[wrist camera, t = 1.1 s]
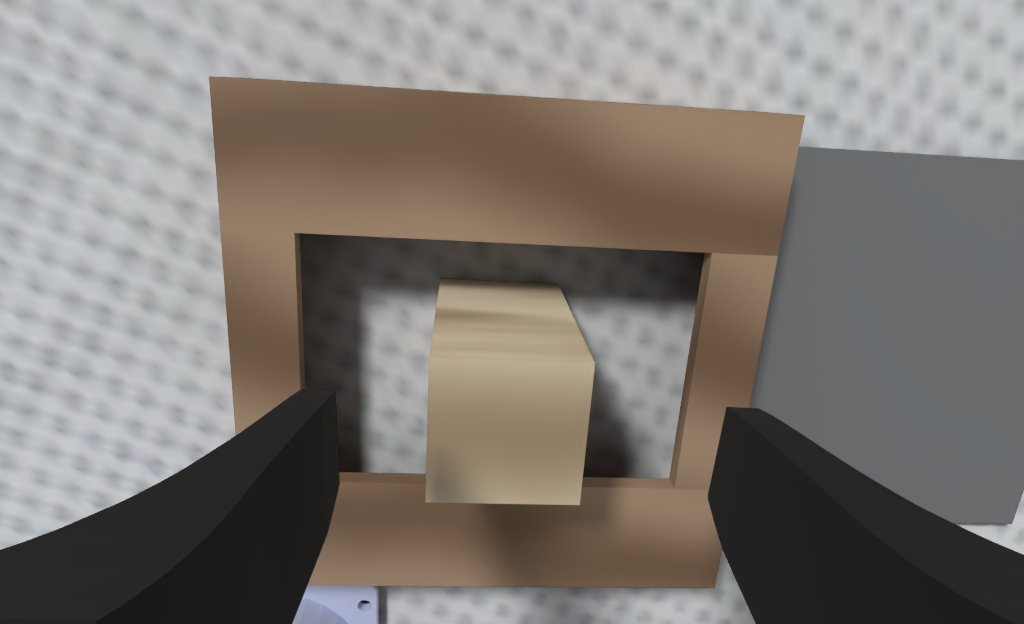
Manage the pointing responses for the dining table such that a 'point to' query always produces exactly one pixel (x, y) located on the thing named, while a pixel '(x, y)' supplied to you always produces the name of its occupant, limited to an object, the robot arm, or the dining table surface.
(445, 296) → the block
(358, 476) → the wooden square frame
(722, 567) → the dining table surface
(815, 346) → the mat
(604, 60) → the dining table surface
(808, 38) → the dining table surface
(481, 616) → the dining table surface
